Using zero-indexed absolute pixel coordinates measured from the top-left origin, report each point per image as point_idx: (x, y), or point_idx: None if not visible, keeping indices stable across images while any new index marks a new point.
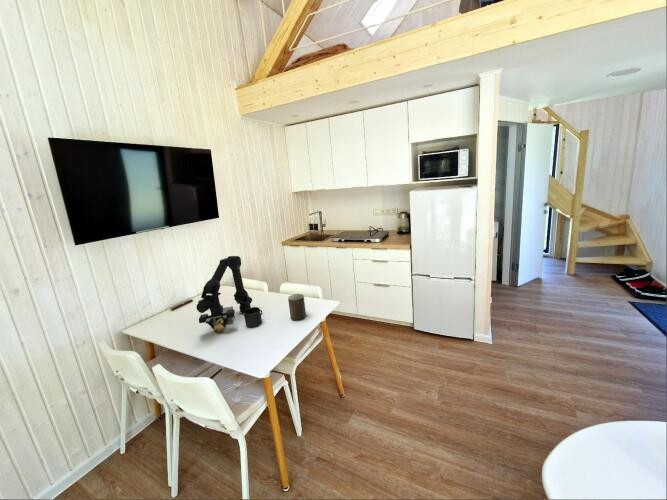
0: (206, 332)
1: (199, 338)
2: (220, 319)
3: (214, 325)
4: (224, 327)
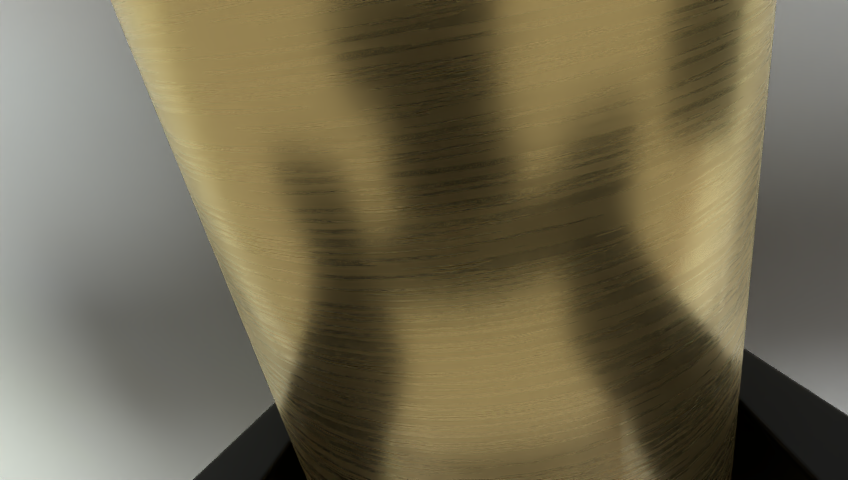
0: (22, 194)
1: (49, 426)
2: (498, 249)
3: (273, 476)
4: None
